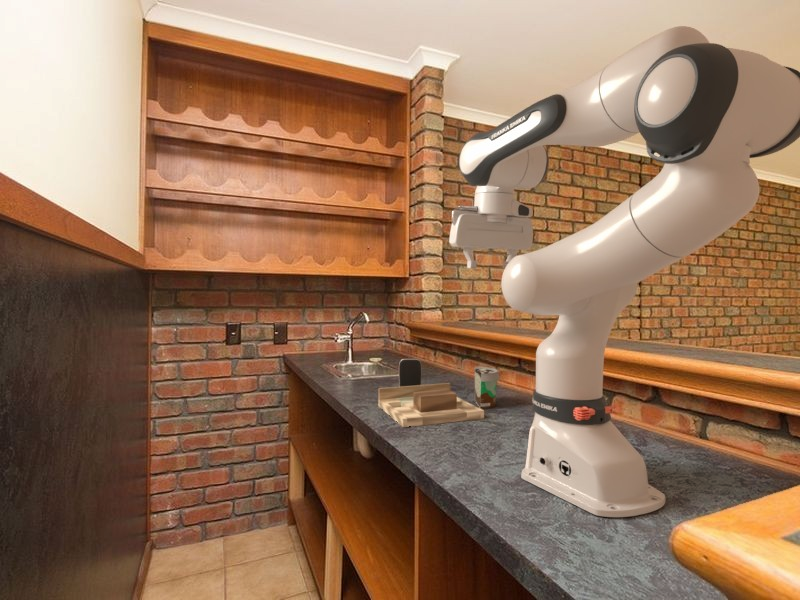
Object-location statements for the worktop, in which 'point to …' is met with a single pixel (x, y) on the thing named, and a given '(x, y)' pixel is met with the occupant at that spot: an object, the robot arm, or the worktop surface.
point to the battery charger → (409, 372)
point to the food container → (485, 386)
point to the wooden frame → (402, 411)
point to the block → (434, 400)
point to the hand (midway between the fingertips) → (489, 268)
